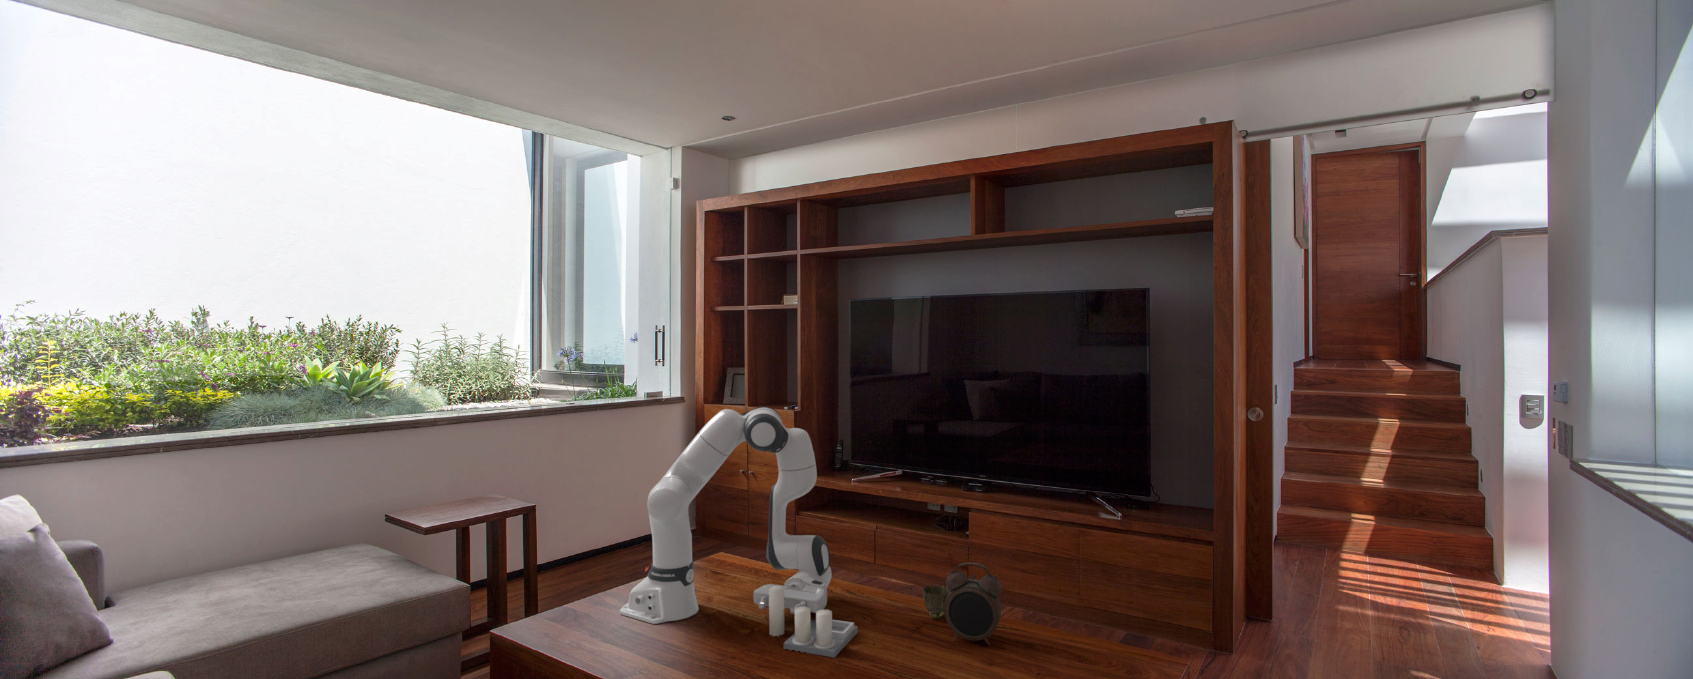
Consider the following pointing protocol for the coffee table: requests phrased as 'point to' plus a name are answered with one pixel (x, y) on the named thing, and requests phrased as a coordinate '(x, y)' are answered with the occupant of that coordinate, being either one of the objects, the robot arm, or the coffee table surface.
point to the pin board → (821, 651)
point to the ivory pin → (776, 610)
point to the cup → (935, 600)
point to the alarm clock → (972, 604)
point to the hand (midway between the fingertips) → (776, 608)
